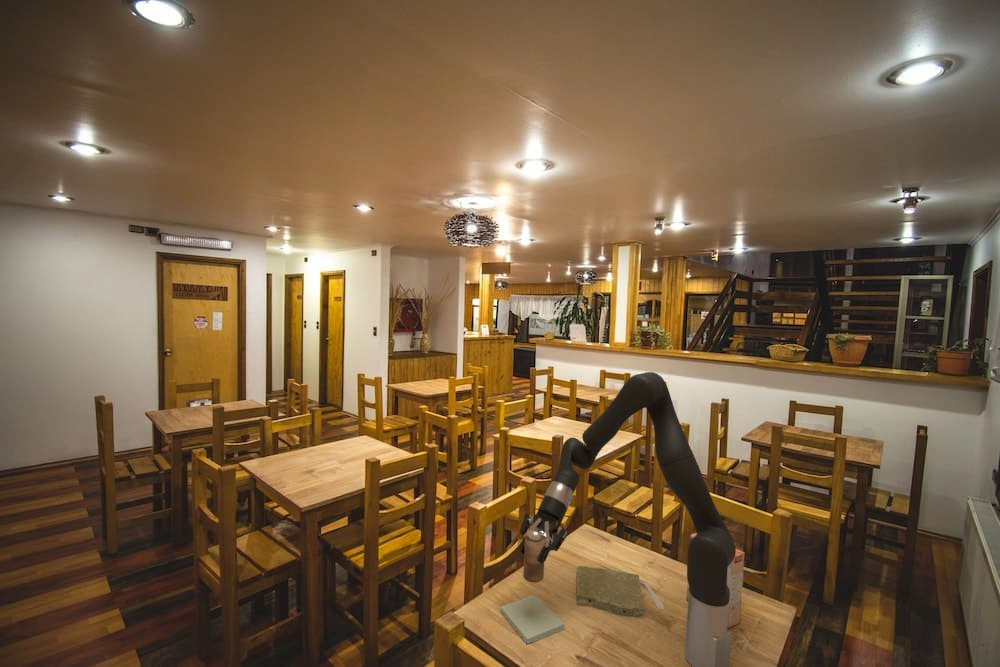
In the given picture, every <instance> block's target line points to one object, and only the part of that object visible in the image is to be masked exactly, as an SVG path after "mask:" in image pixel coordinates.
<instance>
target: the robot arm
mask: <svg viewBox="0 0 1000 667" xmlns="http://www.w3.org/2000/svg"><path fill="white" fill-rule="evenodd" d="M644 409H646V411H647V413H648V415H649V417H650V420H651V424H652V425H653V432H654V448H655V450H654V451H655V455H656V457H655V458H656V460H657V464H658V466H659V468H660V471H661V473H662V476H663V478H664V480H665V482H666V484H667V486H668V487H669V488H670V490H671V491H672V492H673V493H674V494H675V496H676V497H677V498H678V499H679V500H680V502H681V503H682V504H683V505H684V507H685V508H686V510H687V512H688V515H689V516H690V518H691V521H692V523H693V524H692V525H693V528H694V529H695V533H697V535H696V536H695V537H694V538H693V539H692V540H691V541H689V544H688V548H687V554H686V555H687V557H686V560H687V561H686V562H687V563H686V579H687V583H689V595H688V600H687V613H686V626H685V644H684V657H685V660H686V662H688V664H689V666H691V667H729V666H730V655H731V654H730V653H731V651H730V650H731V638H732V633H731V631H730V630H729V628H728V613H729V600H730V590H729V588H728V586H727V570H728V566H729V565H730V563H731V562H732V561H733V559H734V557H735V554H736V549H737V546H736V544H735V541H734V539H733V537H732V535H731V533H730V531H729V529H728V527H727V526H726V524H725V522H724V520H723V518H722V516H721V515H720V512H719V510H718V509H717V507H716V504H715V502H714V500H713V498H712V496H711V494H710V490H709V488H708V485H707V484H706V481H705V479H704V477H703V474H702V471H701V469H700V466H699V464H698V462H697V459H696V457H695V455H694V452H693V450H692V448H691V446H690V444H689V441H688V440H687V437H686V435H685V432H684V430H683V427H682V425H681V423H680V420H679V417H678V415H677V413H676V410H675V407H674V404H673V400H672V397H671V394H670V390H669V388H668V385H667V383H666V381H665V379H664V378H663V377H662V376H661V375H660V374H658V373H656V372H653V371H649V372H647V371H646V372H643V373H638V374H634V375H632V376H631V377H629V378H628V379H627V380H626V381H625V383H624V385H622V387H621V389H620V390H619V392H618V393H617V395H616V396H615V397H614V399H613V400H612V401H611V403H610V404H609V405H608V406H607V407H606V409H605V410H604V411H603V412H602V413H601V414H600V415H599V417H597V418H596V419H595V420H594V421H593V422H592V423H591V424H590V425H589V426H588V427H587V428H586V429H585V430H584V431H583V433H582V436H581V437H582V438H581V439H582V441H583V442H582V441H581V440H580V439H577V438H576V437H569V438H567V439H566V440H565V441H564V443H563V444H562V446H561V452H560V458H559V462H558V466H557V470H556V473H555V475H554V477H553V479H552V481H551V483H550V485H548V487H547V489H546V492H545V494H544V495H543V498H542V500H541V502H540V504H539V507H538V509H537V512H536V513H535V514H534V515H530V514H529V513H525V514H524V517H523V520H522V522H521V526H520V530H519V534H520V535H522V538H523V539H522V540H521V542H520V545H519V547H518V550H519V551H518V552H519V553H520V554H521V555H523V556H524V547H525V536H526V535H527V530H528V529H529V528H531V527H538V528H541V529H542V530H543V536H544V538H545V545H544V546H545V547H543V548H542V550H541V552H540V554H539V557H538V559H537V560H538V561H539V562H540V563H543V562H544V563H545V562H546V560H547V558H548V556H549V553H550V552H551V551H555V552H558V550H560V547H561V546H562V544H563V543H564V541H565V539H566V538H567V537H568V535H569V534H568V533H569V532H568V531H567V530H566V529H565V527H561V523H562V522H563V521H564V518H565V517H566V516H565V515H566V513H567V511H568V509H569V507H570V505H571V502H572V500H573V496H574V493H575V492H576V488H577V487H578V484H579V482H580V478H581V477H580V474H579V473H578V472H577V471H576V469H575V468H574V467H573V465H574V466H576V467H578V468H579V469H581V470H588V469H590V468H591V467H593V465H594V463H595V462H596V459H597V456H598V455H599V453H600V452H601V450H602V449H603V448H604V447H605V446H606V445H607V444H608V443H609V442H610V441H611V440H613V438H614V437H615V436H616V435H617V434H618V433H619V431H620V429H621V427H622V426H623V425H624V423H625V422H626V421H627V420H628V419H629V418H630V417H631V416H633V415H634V414H636V413H637V412H639V411H641V410H644ZM572 464H573V465H572ZM530 525H531V526H530ZM555 533H557V535H556V536H555V538H554V535H555Z"/></svg>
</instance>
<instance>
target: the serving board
mask: <svg viewBox="0 0 1000 667" xmlns="http://www.w3.org/2000/svg"><path fill="white" fill-rule="evenodd" d="M499 612H500V613H501V614H502V616H503V617H504V619H505V620H506V621H507V622H508V623H509V624H510V626H511V627H512V628H513V629H514V631H515V632H516V631H517V632H516V633H517V634H518V635H519V636H520V638H521V637H522V638H521V639H522V640H523V641H524V642H526V643H527V644H526V643H525V644H526V645H529V644H528V643H530V644H532V643H535V642H536V641H539V640H542V639H544V638H547V637H549V636H551V635H552V636H553V635H554V634H556V633H558V632H561V631H563V630H565V624H564V622H562V620H561V619H560V618H559V617H558V616H557V615H556V614H555V613H554V612H553V611H552V610H551V609H550V608H549V607H548V606H547V605H546V604H545V603H544V602H543V601H542V600H541V599H540V598H539V597H538V596H537V595H536V594H534V595H533V594H532V595H531V596H527V597H524V598H522V599H519V600H516V601H512V602H510V603H507V604H504V605H501V606H500V610H499ZM534 641H535V642H534ZM531 642H532V643H531Z"/></svg>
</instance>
